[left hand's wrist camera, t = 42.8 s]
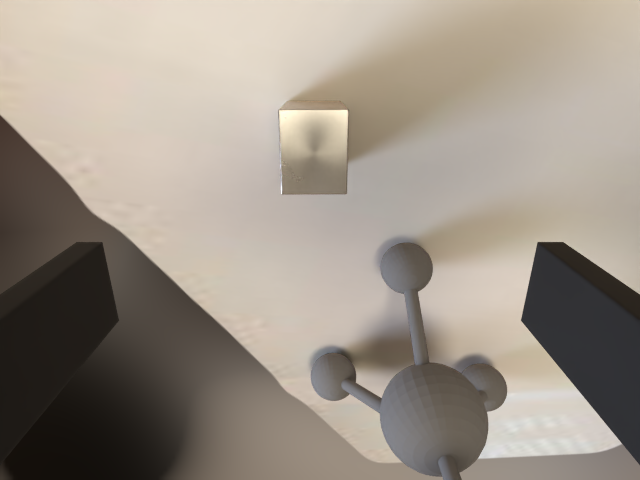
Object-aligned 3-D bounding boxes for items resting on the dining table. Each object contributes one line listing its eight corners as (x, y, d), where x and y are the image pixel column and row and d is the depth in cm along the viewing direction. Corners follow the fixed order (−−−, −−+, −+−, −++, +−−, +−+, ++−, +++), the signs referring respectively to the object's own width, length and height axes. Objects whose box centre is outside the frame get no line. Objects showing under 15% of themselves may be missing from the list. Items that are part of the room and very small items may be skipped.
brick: (287, 101, 41) (278, 109, 31) (340, 100, 41) (348, 109, 31) (288, 167, 43) (281, 194, 33) (339, 167, 43) (346, 194, 33)
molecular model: (511, 228, 46) (817, 469, 18) (492, 385, 54) (681, 716, 26) (300, 241, 46) (279, 497, 18) (313, 395, 54) (312, 733, 26)
